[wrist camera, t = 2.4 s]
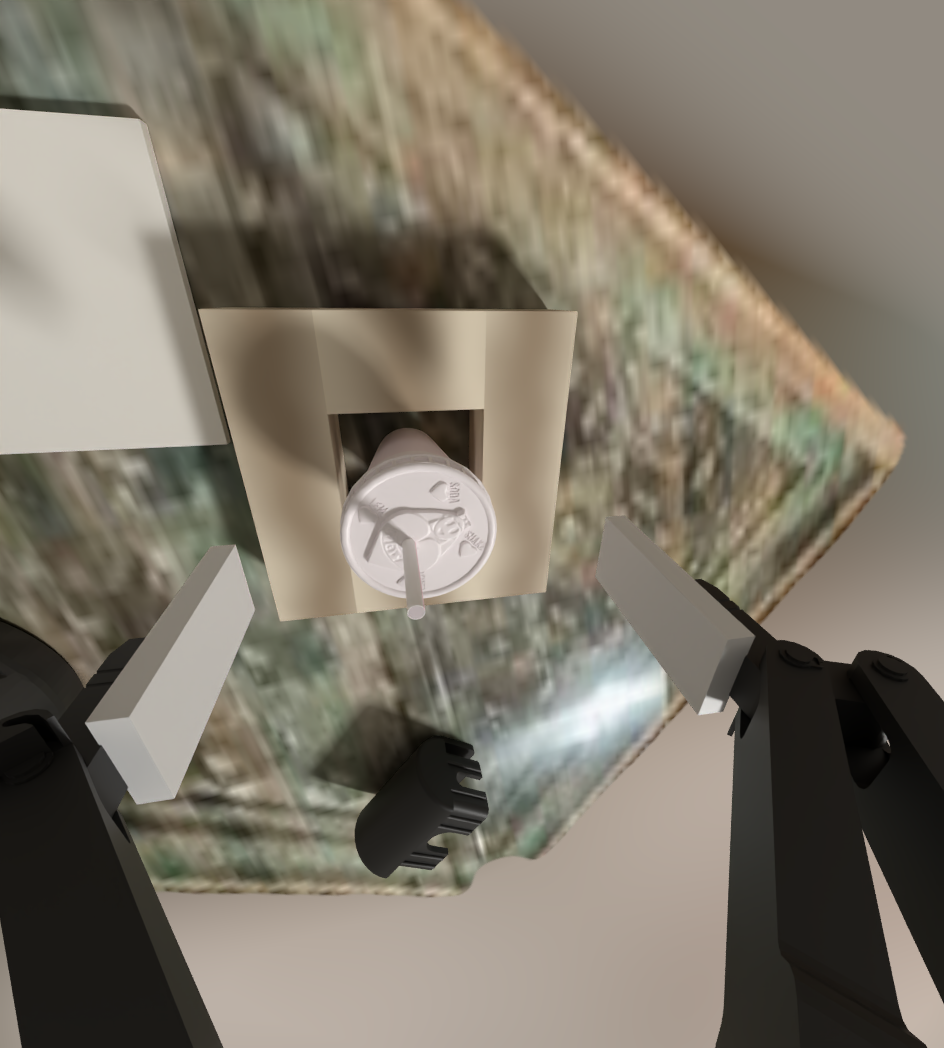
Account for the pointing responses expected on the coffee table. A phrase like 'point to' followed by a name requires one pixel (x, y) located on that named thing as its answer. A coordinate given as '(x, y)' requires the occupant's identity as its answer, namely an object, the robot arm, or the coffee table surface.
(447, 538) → the smoothie
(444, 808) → the end cap
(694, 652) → the robot arm
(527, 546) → the frame
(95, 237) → the tile
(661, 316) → the coffee table surface
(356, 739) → the coffee table surface
